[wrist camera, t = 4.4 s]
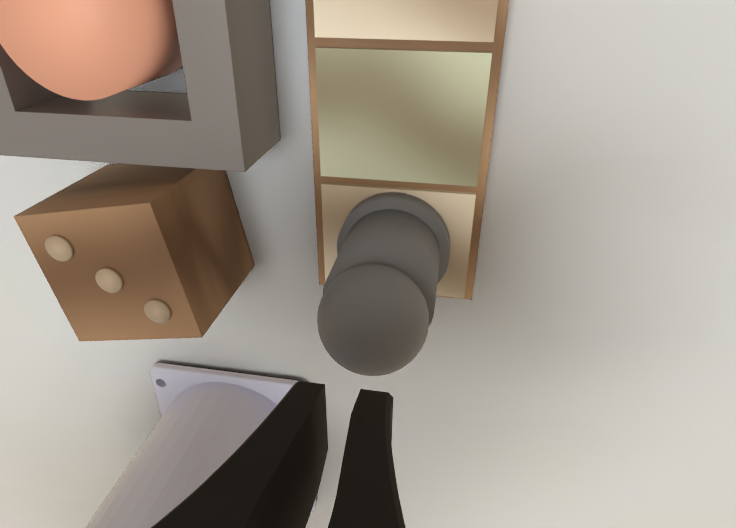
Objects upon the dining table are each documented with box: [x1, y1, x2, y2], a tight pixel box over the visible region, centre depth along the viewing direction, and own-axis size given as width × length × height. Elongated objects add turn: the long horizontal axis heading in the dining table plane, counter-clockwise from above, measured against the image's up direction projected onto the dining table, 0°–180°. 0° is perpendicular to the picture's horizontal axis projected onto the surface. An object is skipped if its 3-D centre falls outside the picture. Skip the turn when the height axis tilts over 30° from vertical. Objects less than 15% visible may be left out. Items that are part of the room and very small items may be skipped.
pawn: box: [317, 192, 450, 376], centre depth 17 cm, size 4×4×6 cm
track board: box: [305, 0, 509, 300], centre depth 16 cm, size 18×6×1 cm, turn 0°
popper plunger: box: [0, 0, 183, 100], centre depth 16 cm, size 5×5×4 cm
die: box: [14, 163, 254, 341], centre depth 20 cm, size 5×5×5 cm
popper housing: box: [0, 0, 280, 172], centre depth 16 cm, size 9×9×4 cm
